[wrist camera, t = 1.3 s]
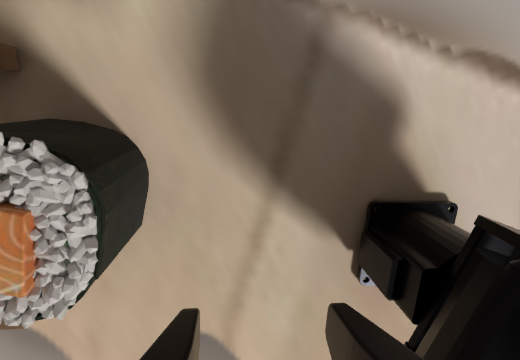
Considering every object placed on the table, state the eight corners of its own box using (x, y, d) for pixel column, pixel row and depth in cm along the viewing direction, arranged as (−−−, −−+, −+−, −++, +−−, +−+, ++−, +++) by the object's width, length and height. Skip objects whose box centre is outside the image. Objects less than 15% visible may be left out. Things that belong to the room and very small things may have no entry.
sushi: (154, 130, 18) (98, 152, 10) (141, 253, 19) (85, 351, 12) (6, 103, 16) (-190, 104, 9) (8, 238, 18) (-151, 336, 11)
